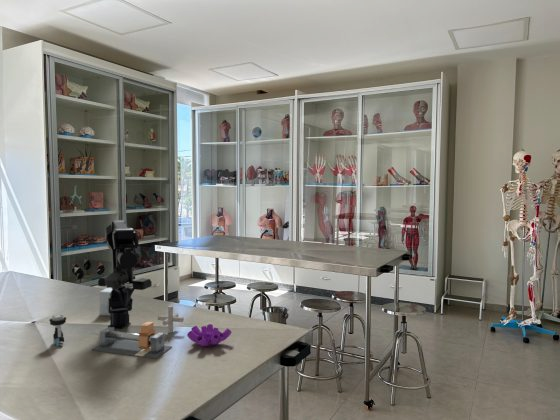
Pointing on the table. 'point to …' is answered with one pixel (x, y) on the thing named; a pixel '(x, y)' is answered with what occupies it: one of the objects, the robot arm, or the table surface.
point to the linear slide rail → (110, 334)
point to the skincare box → (104, 301)
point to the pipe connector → (170, 319)
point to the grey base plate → (130, 349)
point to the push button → (58, 329)
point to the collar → (145, 335)
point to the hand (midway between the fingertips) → (125, 305)
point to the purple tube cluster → (207, 335)
